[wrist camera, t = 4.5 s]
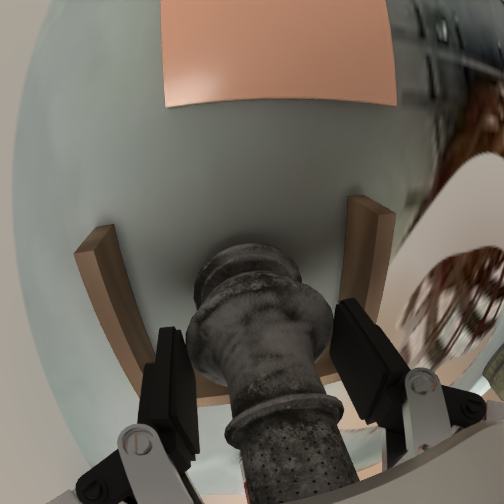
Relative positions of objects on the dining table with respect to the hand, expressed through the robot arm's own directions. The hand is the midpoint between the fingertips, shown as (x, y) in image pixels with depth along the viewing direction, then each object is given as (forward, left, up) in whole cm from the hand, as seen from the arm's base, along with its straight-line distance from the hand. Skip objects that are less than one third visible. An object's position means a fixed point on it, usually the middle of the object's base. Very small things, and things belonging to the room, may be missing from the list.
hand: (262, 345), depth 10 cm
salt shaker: (0, 0, -4) cm, 4 cm away
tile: (-3, -14, -5) cm, 16 cm away
